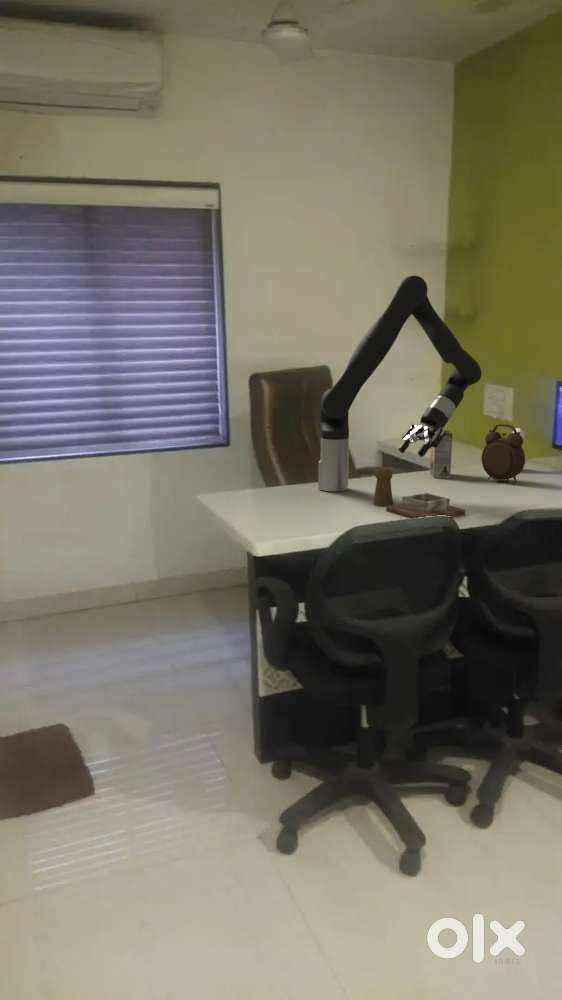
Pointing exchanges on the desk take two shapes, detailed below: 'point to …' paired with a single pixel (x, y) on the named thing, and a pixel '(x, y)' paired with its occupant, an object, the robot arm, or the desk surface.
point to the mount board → (425, 506)
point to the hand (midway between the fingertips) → (409, 453)
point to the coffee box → (441, 457)
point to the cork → (383, 488)
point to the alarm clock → (503, 454)
